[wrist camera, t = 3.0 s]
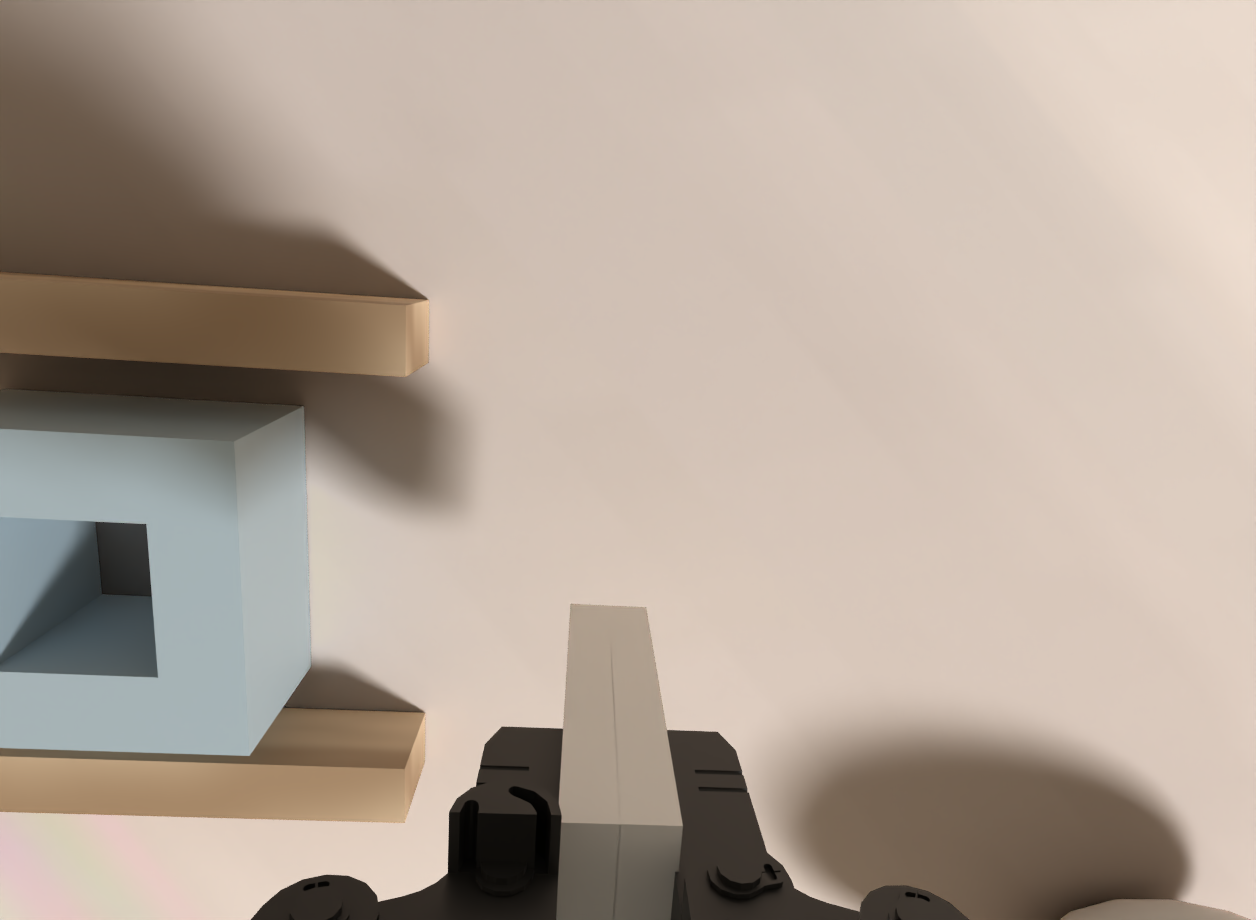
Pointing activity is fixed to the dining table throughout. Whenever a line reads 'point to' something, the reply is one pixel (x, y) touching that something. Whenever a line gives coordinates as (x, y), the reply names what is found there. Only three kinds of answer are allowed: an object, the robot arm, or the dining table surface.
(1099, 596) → the dining table surface
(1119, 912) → the donut
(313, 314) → the track
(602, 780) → the robot arm
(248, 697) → the block
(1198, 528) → the dining table surface
